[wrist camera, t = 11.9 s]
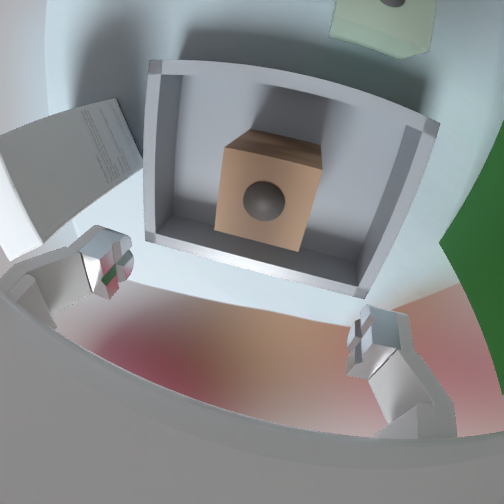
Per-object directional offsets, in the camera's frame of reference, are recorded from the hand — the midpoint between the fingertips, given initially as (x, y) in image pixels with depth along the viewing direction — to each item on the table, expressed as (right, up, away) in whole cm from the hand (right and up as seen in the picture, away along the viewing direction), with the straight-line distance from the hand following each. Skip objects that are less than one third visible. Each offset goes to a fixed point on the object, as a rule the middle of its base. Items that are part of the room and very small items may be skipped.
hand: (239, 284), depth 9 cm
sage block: (+8, +17, +3) cm, 19 cm away
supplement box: (-13, +11, +13) cm, 22 cm away
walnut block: (+2, +7, +10) cm, 13 cm away
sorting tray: (+2, +7, +11) cm, 14 cm away
